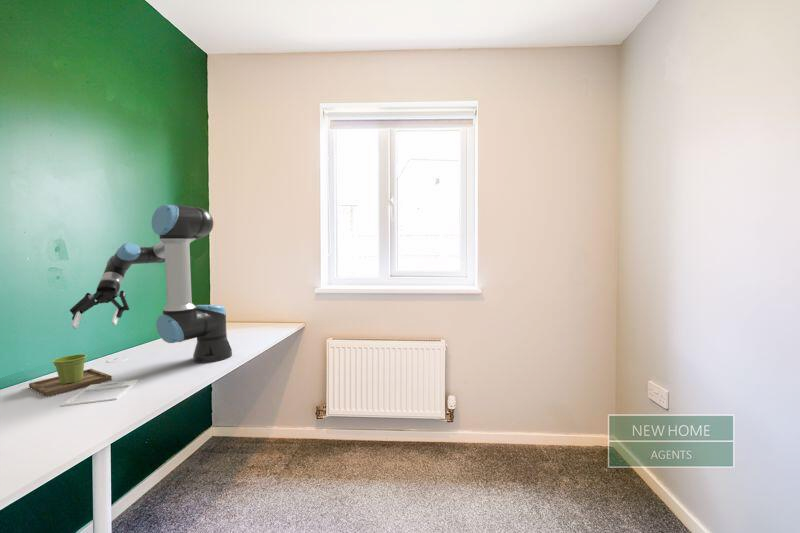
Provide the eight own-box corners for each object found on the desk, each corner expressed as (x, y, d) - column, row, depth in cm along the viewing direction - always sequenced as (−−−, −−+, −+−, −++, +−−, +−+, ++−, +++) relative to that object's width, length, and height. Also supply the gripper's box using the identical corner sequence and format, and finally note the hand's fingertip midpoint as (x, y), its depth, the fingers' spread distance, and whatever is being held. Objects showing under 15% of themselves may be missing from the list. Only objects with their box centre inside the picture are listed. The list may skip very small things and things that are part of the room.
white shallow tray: (138, 379, 137) (116, 397, 120) (138, 382, 137) (116, 400, 120) (90, 384, 133) (60, 404, 116) (90, 387, 133) (61, 407, 116)
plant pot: (47, 385, 133) (45, 361, 132) (76, 376, 142) (74, 353, 142) (66, 387, 130) (64, 362, 130) (94, 377, 139) (93, 354, 139)
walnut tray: (111, 380, 139) (111, 375, 139) (47, 397, 124) (46, 392, 124) (91, 372, 148) (91, 368, 148) (29, 387, 133) (28, 383, 133)
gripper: (145, 288, 169) (133, 327, 155) (80, 292, 164) (61, 333, 150) (139, 277, 164) (126, 316, 150) (71, 281, 158) (51, 322, 144)
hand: (93, 325), depth 150 cm, fingers open, 13 cm apart
